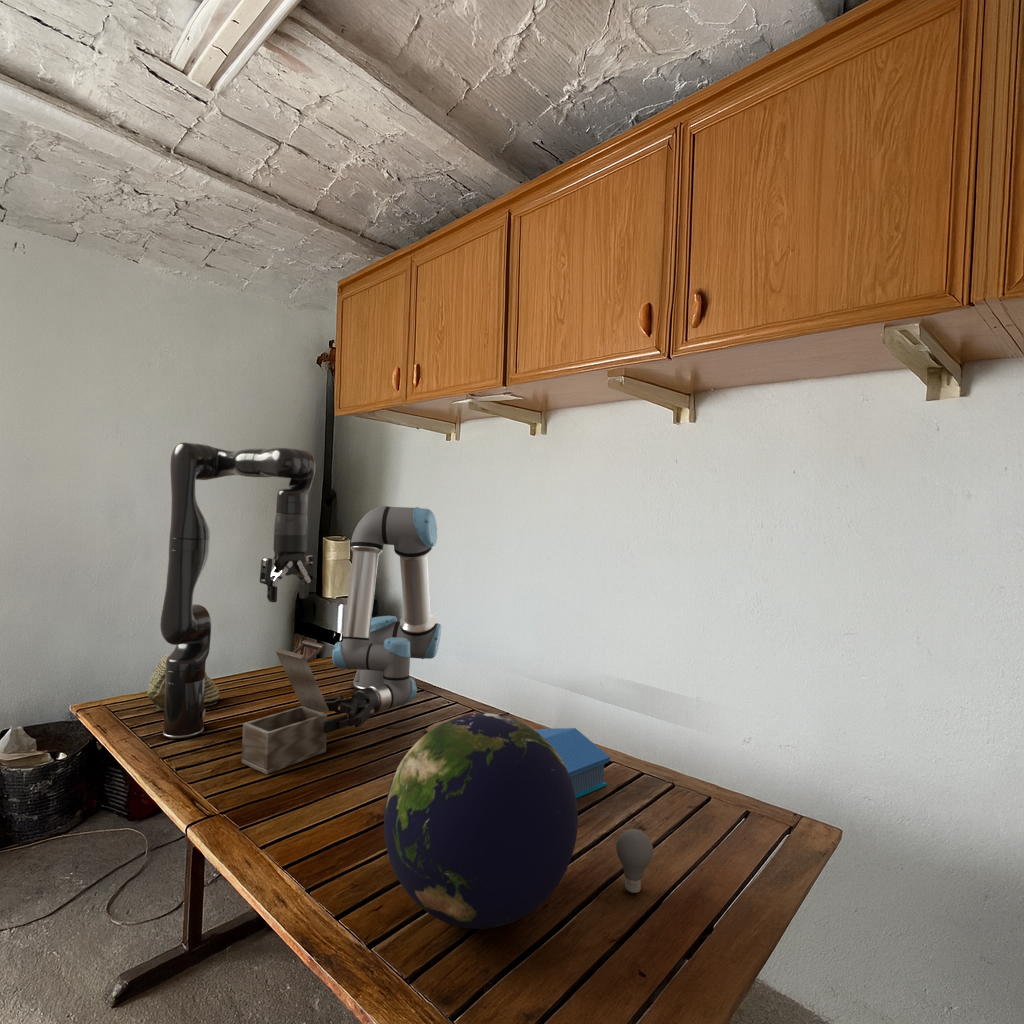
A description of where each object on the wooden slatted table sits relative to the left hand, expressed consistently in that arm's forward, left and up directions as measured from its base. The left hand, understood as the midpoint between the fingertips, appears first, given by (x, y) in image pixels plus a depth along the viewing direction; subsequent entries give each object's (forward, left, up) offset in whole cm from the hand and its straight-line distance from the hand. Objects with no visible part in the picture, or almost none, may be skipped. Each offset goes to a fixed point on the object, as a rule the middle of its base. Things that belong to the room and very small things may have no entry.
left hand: (288, 600), depth 151 cm
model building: (+49, +32, -38) cm, 70 cm away
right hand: (-2, +7, -31) cm, 32 cm away
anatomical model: (+10, +44, -38) cm, 59 cm away
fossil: (-52, -7, -38) cm, 65 cm away
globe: (+73, 0, -38) cm, 82 cm away
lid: (-1, +4, -21) cm, 21 cm away
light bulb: (+86, +23, -38) cm, 96 cm away
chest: (0, +1, -38) cm, 38 cm away
